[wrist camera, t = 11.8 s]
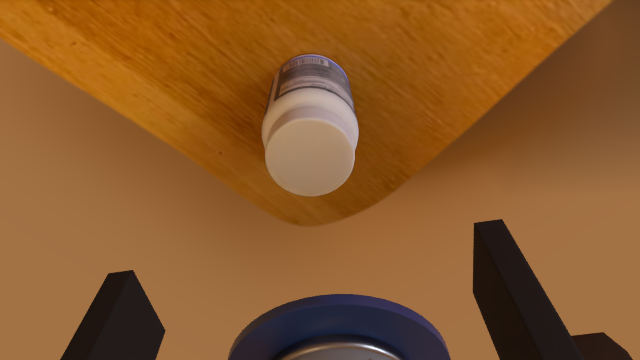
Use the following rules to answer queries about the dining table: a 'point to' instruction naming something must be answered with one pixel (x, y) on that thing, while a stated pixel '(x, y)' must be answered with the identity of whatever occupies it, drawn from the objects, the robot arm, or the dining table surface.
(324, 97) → the pill bottle
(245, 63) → the dining table surface
